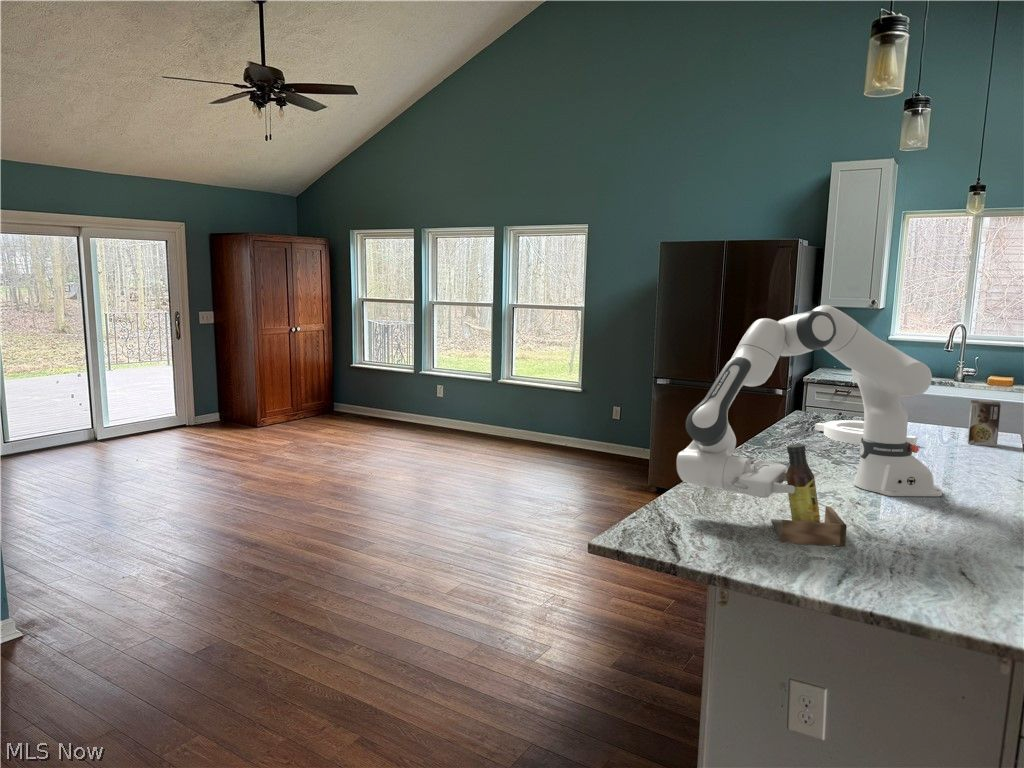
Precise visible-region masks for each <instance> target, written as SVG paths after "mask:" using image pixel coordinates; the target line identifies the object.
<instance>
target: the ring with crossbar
mask: <svg viewBox="0 0 1024 768" xmlns="http://www.w3.org/2000/svg"><path fill="white" fill-rule="evenodd" d="M814 430H815V431H820V432H821V431H822V432H823V436H824V435H825V436H827V437H828V438H830V439H833V440H836V441H835V442H837V441H840V442H839V443H841V442H844V443H843V444H846V443H849V444H848V445H852V444H855V446H860V443H861V438H862V437H863V431H864V420H852V419H850V420H847V419H846V420H845V419H843V420H842V419H841V420H831V421H827V422H825V423H821V422H817V423H814ZM828 438H827V439H828ZM830 439H829V440H830ZM833 440H832V441H833ZM917 440H918V437H917V436H913V435H907V436H906V441H907V442H908V443H910V444H912V445H916V444H917Z"/></svg>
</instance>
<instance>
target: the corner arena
mask: <svg viewBox="0 0 1024 768" xmlns="http://www.w3.org/2000/svg"><path fill="white" fill-rule="evenodd" d="M824 510H825V514H824V522H822V521H820V522H808V521H794V520H792V519H791V520H790V519H776V518H771V520H770V523H771V525H772V527H773V528H774V529H773V530H775V533H776V532H777V533H776V535H777V534H778V535H777V536H778V538H779V540H780V543H784V542H789V543H788V544H798V543H800V544H799V545H811V544H813V545H814V544H815V545H816V546H825V545H835V546H834V547H838V546H845V547H846V539H847V524H846V523H845V522H844V521H843V519H842V518H841V517H840V516H839V514H838V513H837V512H836V511H835V510H834V509H833V507H832V506H827V505H826V506H825V509H824ZM815 545H814V546H815Z"/></svg>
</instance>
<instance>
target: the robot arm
mask: <svg viewBox="0 0 1024 768" xmlns="http://www.w3.org/2000/svg"><path fill="white" fill-rule="evenodd" d="M822 349H824V350H825V351H826V352H828V353H829V354H830V355H831V356H833V357H834V358H835V359H837V360H838V361H839V362H840V363H842V364H843V365H844V366H845V367H846V368H849V369H851V375H852V378H853V380H854V381H855V383H856V384H857V386H858V389H859V392H860V395H861V400H862V404H863V411H864V412H863V417H864V419H863V421H864V431H863V437H862V438H861V443H860V445H859V456H860V459H859V462H858V463H859V464H858V467H857V472H856V474H855V477H854V480H853V482H852V484H853V486H856V487H857V488H860V489H862V490H865V491H870V492H875V493H878V494H881V495H884V496H888V497H942V496H943V491H942V489H941V488H940V487H939V486H938V485H936V484H935V483H934V476H933V472H932V471H931V469H930V468H928V467H927V465H925V464H924V463H923V462H921V461H920V460H919V459H918V458H917V457H915V455H913V453H914V454H917V453H918V452H920V447H919V446H917V445H916V444H914V445H912V444H910V443H908V442H907V441H906V436H908V434H907V433H908V424H909V417H908V416H909V415H908V413H907V411H906V409H904V407H903V406H902V402H901V399H900V397H902V398H903V397H904V398H905V397H918V396H920V395H923V394H924V393H926V392H927V391H928V390H929V388H930V386H931V384H932V379H933V374H932V371H931V369H930V367H929V366H927V365H926V363H923V362H922V361H919V360H917V359H915V358H914V357H911V356H910V355H908V354H907V353H904V352H903V351H901V350H900V349H898V348H896V347H895V346H893V345H891V344H889V343H888V342H886V341H884V340H882V339H880V338H879V337H877V336H876V335H874V334H873V333H872V332H870V331H869V330H868V329H866V327H864V326H863V325H861V324H860V323H859V322H857V321H856V320H855V319H854V318H852V317H851V316H849V314H847V313H845V312H843V311H841V310H840V309H838V308H836V307H833V306H832V305H829V304H823V305H822V304H821V305H819V306H816V307H815V308H813V309H812V310H808V311H805V312H800V313H795V314H792V315H789V316H786V317H784V318H782V319H779V320H775V319H772V318H768V317H767V318H766V317H764V318H758V319H756V320H755V321H753V322H752V324H751V325H749V327H748V328H747V330H746V332H745V333H744V335H743V336H742V338H741V340H739V343H738V345H737V346H736V349H735V350H734V351H733V352H734V353H733V354H732V356H731V358H730V359H729V360H728V361H727V362H726V364H725V365H724V366H723V368H722V369H721V370H720V373H719V374H718V376H717V377H716V379H715V381H713V383H712V385H711V387H710V389H709V390H708V392H707V393H706V395H705V397H703V399H702V400H701V401H700V402H699V403H698V404H697V405H696V406H695V407H693V409H691V411H690V412H689V413H688V415H687V416H686V419H685V430H686V432H687V434H688V435H689V437H690V438H691V439H692V441H691V442H690V443H689V445H687V446H686V448H684V449H682V450H681V451H679V452H678V453H677V455H676V459H675V468H676V473H677V475H678V477H679V478H680V480H681V481H682V482H685V483H688V484H691V485H694V486H697V487H704V488H708V489H710V488H712V489H713V488H717V489H720V490H723V491H726V492H732V493H737V494H743V495H749V496H753V497H757V498H766V499H767V498H770V496H771V495H773V494H774V493H775V494H788V493H791V494H793V493H794V492H795V488H796V486H795V485H791V484H788V483H787V484H784V482H787V478H786V473H787V470H788V468H789V467H788V466H787V465H785V464H783V463H779V462H774V461H769V460H763V459H757V456H743V457H742V456H733V455H734V452H735V450H736V447H737V438H736V435H735V432H734V430H733V428H732V426H731V425H730V423H729V420H728V419H729V418H728V415H729V414H728V413H729V409H730V407H731V405H732V404H733V402H734V400H735V399H736V396H737V395H738V394H739V392H740V390H741V388H743V386H745V387H750V388H751V387H758V386H759V387H760V386H761V385H763V384H765V383H766V382H767V381H768V380H769V378H770V377H771V376H772V374H773V372H774V370H775V367H776V365H777V363H778V361H779V359H780V358H787V357H793V356H800V355H804V354H807V353H810V352H813V351H818V350H822Z"/></svg>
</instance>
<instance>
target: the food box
mask: <svg viewBox="0 0 1024 768" xmlns="http://www.w3.org/2000/svg"><path fill="white" fill-rule="evenodd" d="M1001 407H1002V406H1001V402H1000V401H993V400H992V401H990V400H989V401H988V400H975V399H974V400H973V399H972V400H970V409H969V418H968V419H969V420H968V431H967V432H968V433H967V439H966V440H967V445H974V446H985V447H986V446H987V447H998V440H999V439H998V438H999V437H998V436H999V427H1000V417H1001V416H1000V415H1001Z"/></svg>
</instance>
